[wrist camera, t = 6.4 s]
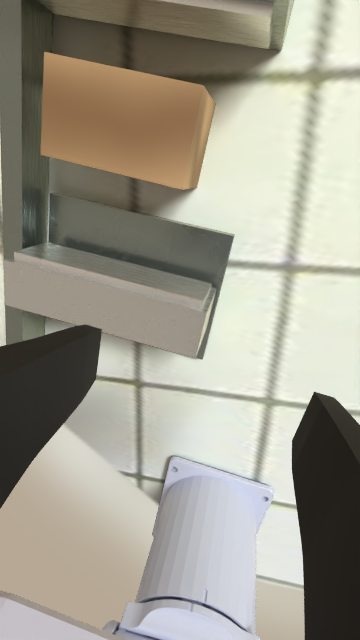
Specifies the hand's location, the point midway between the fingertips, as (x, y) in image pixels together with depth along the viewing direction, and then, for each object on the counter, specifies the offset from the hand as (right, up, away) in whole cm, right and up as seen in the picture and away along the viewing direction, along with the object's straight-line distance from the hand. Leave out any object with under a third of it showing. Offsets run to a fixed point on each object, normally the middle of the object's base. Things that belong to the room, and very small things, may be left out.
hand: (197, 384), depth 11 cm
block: (-3, +12, +7) cm, 14 cm away
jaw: (-4, +4, +9) cm, 11 cm away
